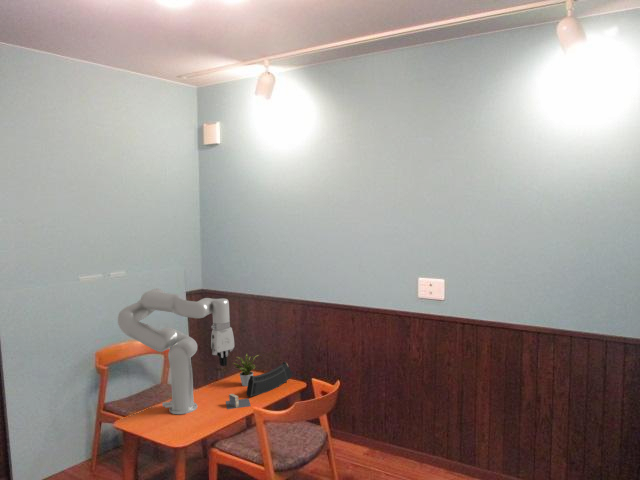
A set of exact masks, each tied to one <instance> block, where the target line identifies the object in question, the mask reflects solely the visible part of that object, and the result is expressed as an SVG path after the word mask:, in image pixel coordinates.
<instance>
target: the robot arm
mask: <svg viewBox="0 0 640 480" xmlns="http://www.w3.org/2000/svg"><path fill="white" fill-rule="evenodd" d="M155 311H157V312H165V313H166V312H167V313H173V314H175V315H177V316H180V317H185V318H191V319H203V318H205V317H206V316H208V315H210V314H211V315H212V325H211V326H210V327H211V330H212V331H211V337H210V340H211V341H210V347H211V348H210V349H211V351H212V352H211V355H213V356H217V357H218V360H219V361H218V362H219V365H220V366H222V367H225V366H226V367H227V366H228V365H227V364H228V356H229V353H231V352H232V351H233V350H234V349H235V338H234V332H233V328H232V327H231V319H230V318H231V317H230V302H229V299H227V298H222V297H221V298H210V297H204V298H201V299H200V300H197V301H195V300H193V301H192V300H186V299H183V298H180V296H179V295H178V294H177V293H170V292H166V291H164V289H161V288H153V289H150V290H148V291H145V292H144V293H143V294H142V296H141V297H140V299H139V300H138V301H137V302H135V303H132V304H130V305H128V306H126V307H124V308H122V309H121V310H120V311H119V313H118V315H117V325H118V327H119V329H120V331H121V332H122V333H124V335H126V336H127V337H130V338H132V339H133V340H136V341H137V342H139V343H140V344H143V345H145V346H146V347H148V348H150V349H152V350H154V351H156V352H158V353H162V352H165V351H167V350H168V349H169V351H168V354H167V355H168V362H169V367H170V381H171V400H169V401H164V402H162V407H163V408H165V409H167V408H169V409H168V410H169V413H170V414H173V415H186V414H190V413H193V412H194V411H196V410H197V409H198V404H197V403H196V402H194V401H195V399H194V381H193V367H192V363H191V358H192V357H194V355H195V354H196V353H197V351H198V347H199V346H198V343H197V341H196V340H195V339H194V338H193V337H191V336H190V335H187V334H185V333H183V332H182V331H180V330H177V329H176V328H173V327H168V326H167V327H163V328H160V329H157V328H155V327H153V326H152V325H149V324H148V323H144V322H141V321H142V320H144V319H146V318H147V317H148V316H150V315H151V314H152V313H154V312H155Z"/></svg>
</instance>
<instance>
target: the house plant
mask: <svg viewBox="0 0 640 480" xmlns="http://www.w3.org/2000/svg"><path fill="white" fill-rule="evenodd" d="M248 356H249V355H248V353H246V354H245V358H244V359H245V360H244V359H243V358H242V357H240V356H236V358H238V359H239V361H238V359H235V361H237V362H238V363H239V364H238V363H235V362H232V365H235V367H234V368H233V369H239V370H241V372H240V373H239V376H240V382H241V385H242V387H248V381H249V379H250V376H254V372H253V371H252V370H253V369H254V370H255V368H256V366H257V365H256V364H253V363H254V362H255V360H256V358H257V357H258V356H259V354H258V355H255V356H254V355H252V356H249V357H248Z"/></svg>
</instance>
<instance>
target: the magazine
mask: <svg viewBox="0 0 640 480" xmlns="http://www.w3.org/2000/svg"><path fill="white" fill-rule="evenodd" d="M292 377H293V374H292V369H291V368H290V367H289V365H288V363H287V362H286V361H283V362H282V363H281V364H279V365H278V366H277V367H275V368H273V369H272V370H269V371H267V372H264V373H261V374H258V375H253V376H250V379H249V381H248V386H246V387H247V388H246V394H245V395H246V396H247V397H248V398H249V397H253V396H257V395H262V394H264V393H268V392H270V391H273V390H275V389H276V388H278V387H281V385H283V384H284V383H287V382H288V381H289V380H290V379H291V378H292Z"/></svg>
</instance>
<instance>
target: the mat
mask: <svg viewBox="0 0 640 480" xmlns="http://www.w3.org/2000/svg"><path fill="white" fill-rule="evenodd" d="M238 402H239V407H233V406H231V405H230V401H229V400H225V405H226V410H234V409H239V408H240V409H241V408H248V407H252V406H251V402H250V399H249V397H248V398H242V399H238Z"/></svg>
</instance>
